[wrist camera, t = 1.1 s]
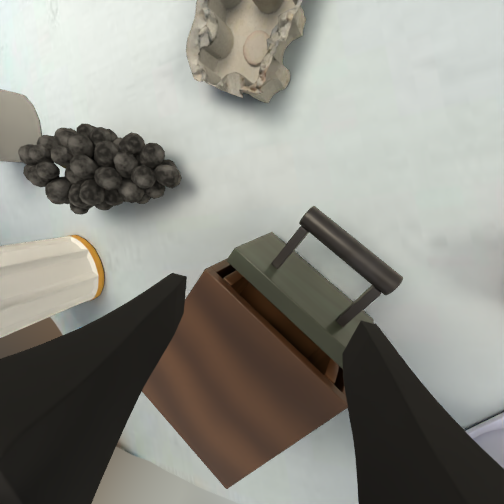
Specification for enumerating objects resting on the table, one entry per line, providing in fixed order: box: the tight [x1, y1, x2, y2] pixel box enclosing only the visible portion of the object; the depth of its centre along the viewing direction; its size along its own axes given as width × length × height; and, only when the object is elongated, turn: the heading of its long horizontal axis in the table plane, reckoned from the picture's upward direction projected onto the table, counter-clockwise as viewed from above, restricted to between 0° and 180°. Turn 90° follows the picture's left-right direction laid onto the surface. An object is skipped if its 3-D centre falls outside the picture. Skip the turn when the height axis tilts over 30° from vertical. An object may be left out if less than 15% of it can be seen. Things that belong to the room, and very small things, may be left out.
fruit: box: [18, 124, 181, 214], centre depth 25 cm, size 9×8×15 cm
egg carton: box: [186, 0, 306, 103], centre depth 18 cm, size 11×8×4 cm
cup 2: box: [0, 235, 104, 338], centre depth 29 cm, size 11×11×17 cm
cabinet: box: [142, 258, 348, 489], centre depth 23 cm, size 14×12×8 cm
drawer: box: [223, 206, 403, 384], centre depth 21 cm, size 18×10×6 cm, turn 146°
